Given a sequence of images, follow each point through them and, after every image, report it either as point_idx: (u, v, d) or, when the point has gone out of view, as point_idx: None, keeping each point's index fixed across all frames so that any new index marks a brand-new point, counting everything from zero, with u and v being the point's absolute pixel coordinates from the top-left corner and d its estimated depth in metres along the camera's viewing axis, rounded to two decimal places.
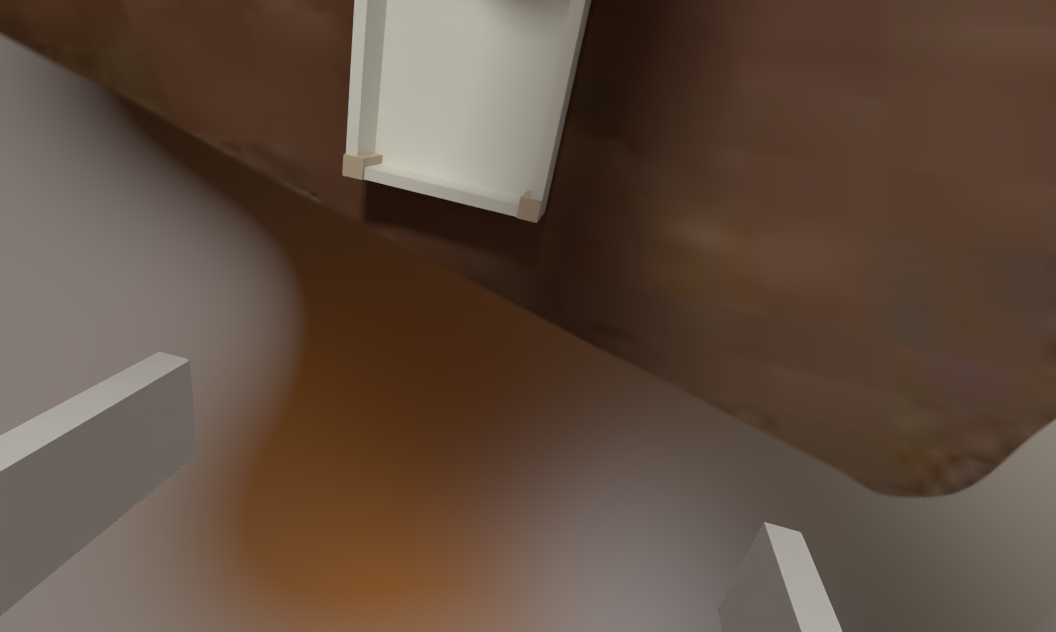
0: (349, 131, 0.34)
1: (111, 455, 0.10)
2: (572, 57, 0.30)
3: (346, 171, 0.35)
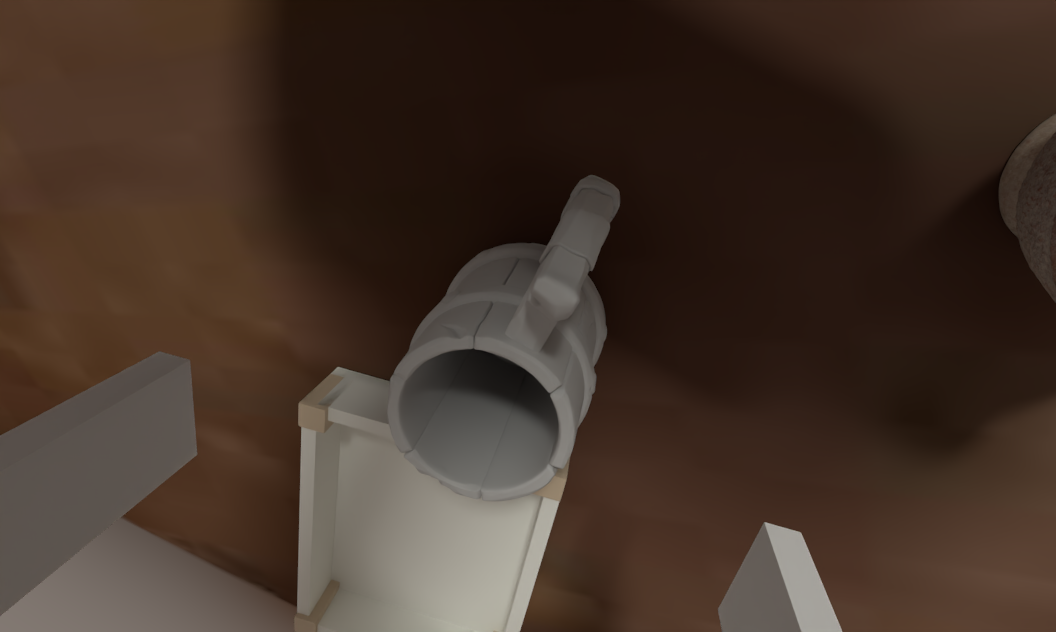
0: (299, 597, 0.32)
1: (111, 455, 0.10)
2: (533, 582, 0.28)
3: (297, 629, 0.32)
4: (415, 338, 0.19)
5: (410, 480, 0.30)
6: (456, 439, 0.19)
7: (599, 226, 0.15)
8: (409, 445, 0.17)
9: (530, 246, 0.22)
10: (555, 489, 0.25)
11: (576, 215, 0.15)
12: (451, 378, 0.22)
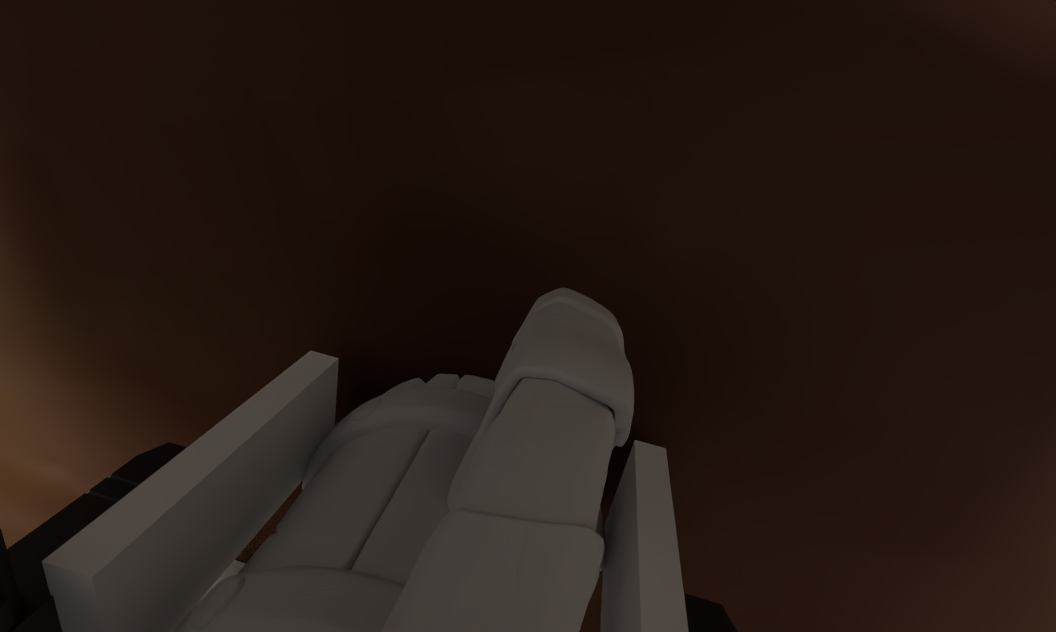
0: None
1: (288, 442, 0.11)
2: None
3: None
4: None
5: None
6: None
7: (563, 582, 0.04)
8: None
9: (453, 401, 0.11)
10: None
11: (474, 558, 0.04)
12: None
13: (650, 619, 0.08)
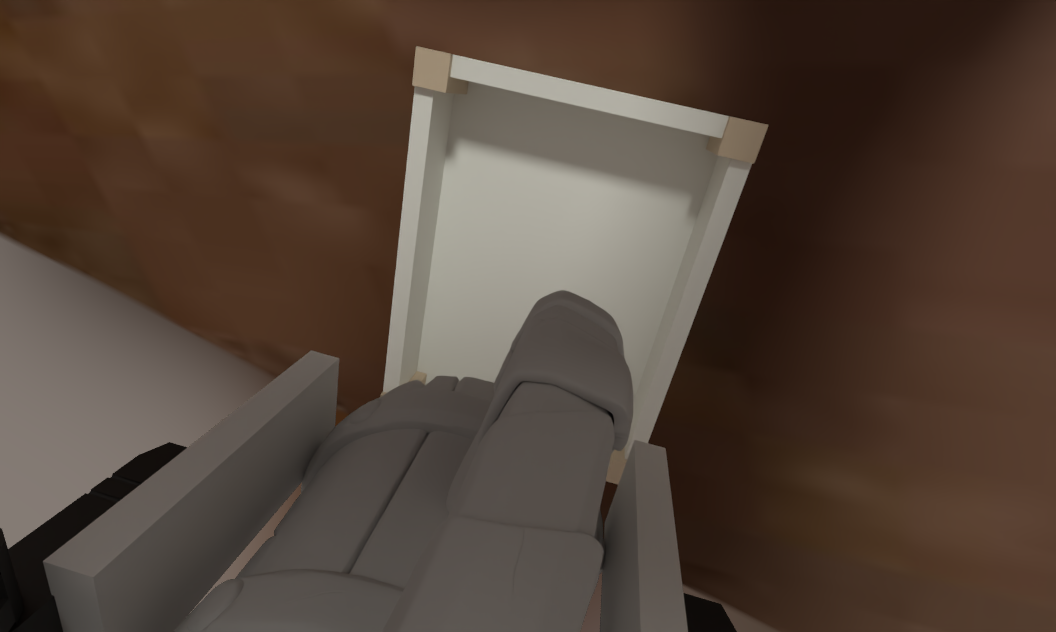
0: (388, 368, 0.26)
1: (288, 442, 0.11)
2: (696, 309, 0.22)
3: None
4: None
5: (530, 209, 0.24)
6: None
7: (562, 590, 0.04)
8: None
9: (452, 403, 0.11)
10: (750, 143, 0.19)
11: (473, 565, 0.04)
12: None
13: (650, 619, 0.08)
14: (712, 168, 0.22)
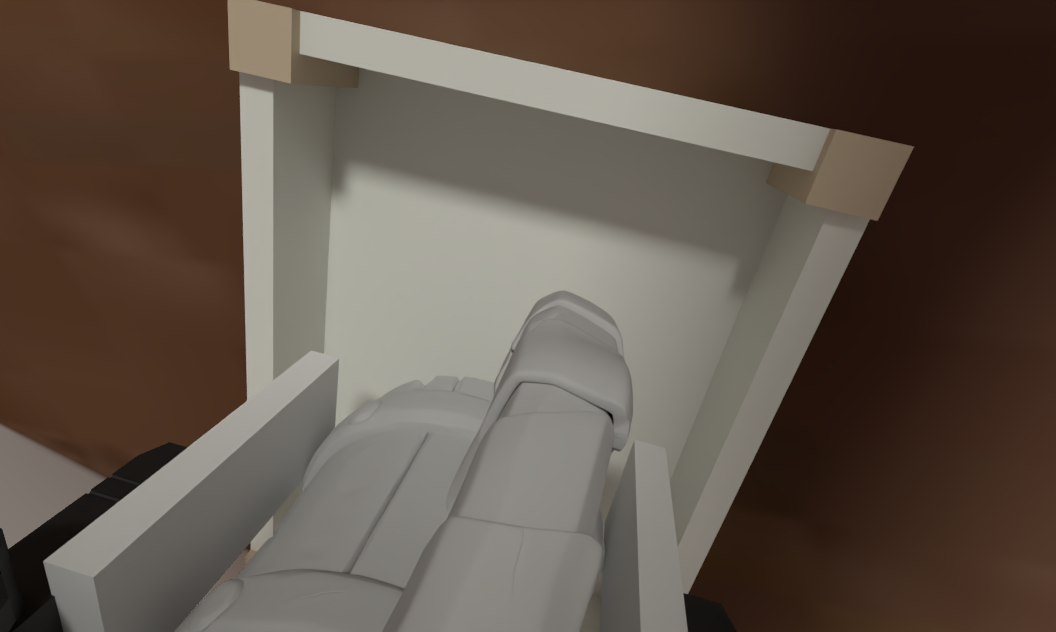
0: None
1: (289, 442, 0.11)
2: (749, 460, 0.13)
3: None
4: None
5: (471, 275, 0.15)
6: None
7: (562, 589, 0.04)
8: None
9: (452, 403, 0.11)
10: (873, 183, 0.10)
11: (472, 565, 0.04)
12: None
13: (650, 619, 0.08)
14: (776, 215, 0.13)
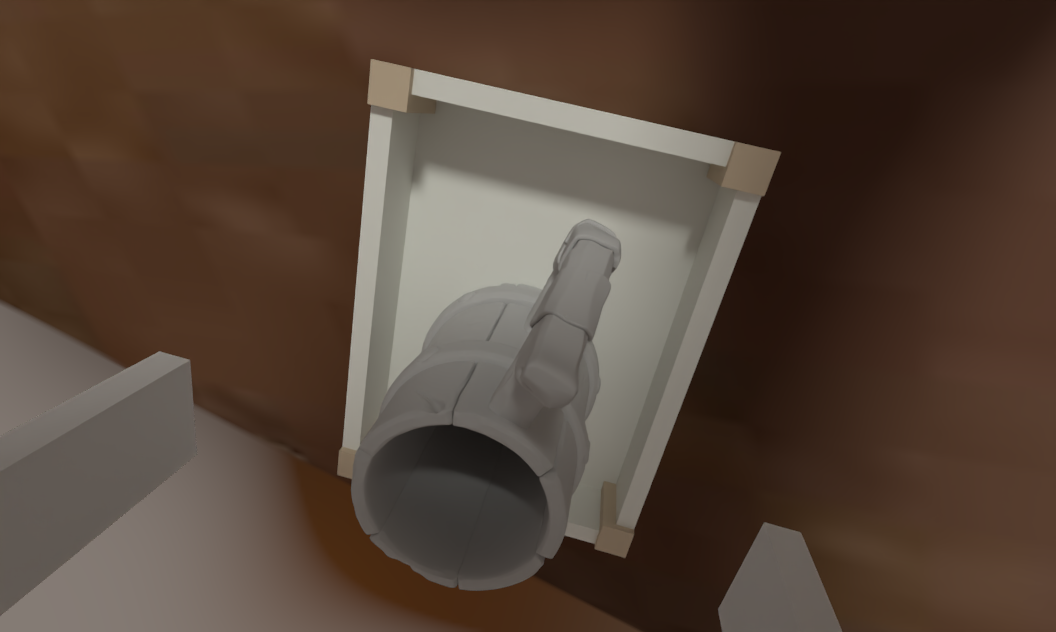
0: (348, 421, 0.23)
1: (111, 455, 0.10)
2: (697, 359, 0.19)
3: (343, 471, 0.24)
4: (387, 398, 0.17)
5: (508, 242, 0.22)
6: (431, 511, 0.17)
7: (599, 287, 0.13)
8: (376, 527, 0.15)
9: (518, 290, 0.20)
10: (760, 173, 0.16)
11: (573, 275, 0.13)
12: (428, 436, 0.20)
13: None
14: (714, 198, 0.20)
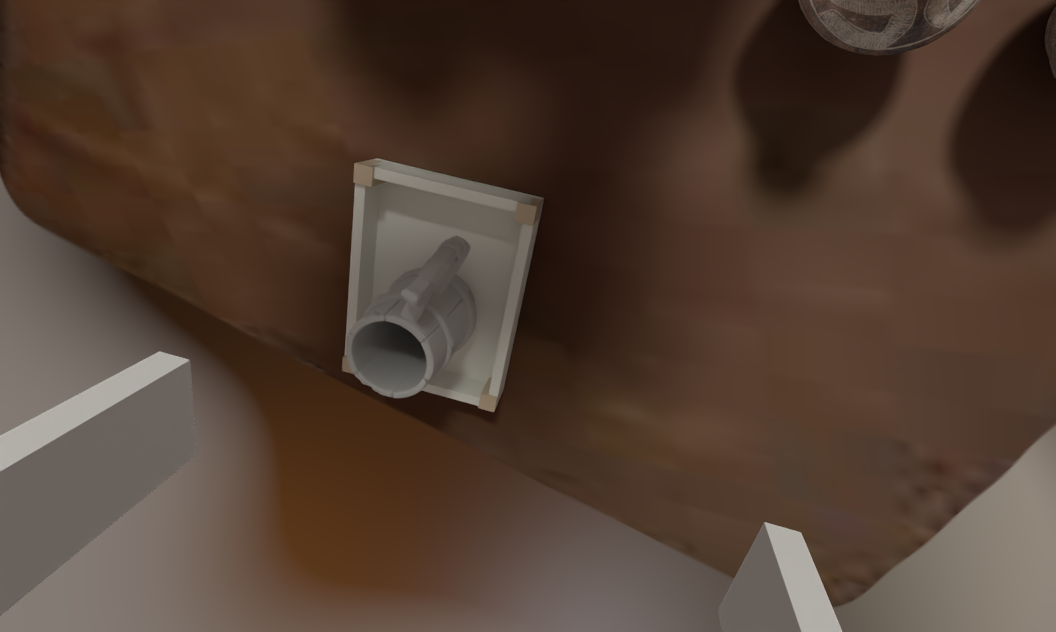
0: None
1: (111, 455, 0.10)
2: (516, 303, 0.39)
3: (345, 368, 0.44)
4: (362, 317, 0.37)
5: (428, 245, 0.42)
6: (384, 370, 0.38)
7: (442, 266, 0.33)
8: (357, 369, 0.35)
9: None
10: (529, 216, 0.36)
11: (431, 261, 0.33)
12: (385, 341, 0.40)
13: None
14: None
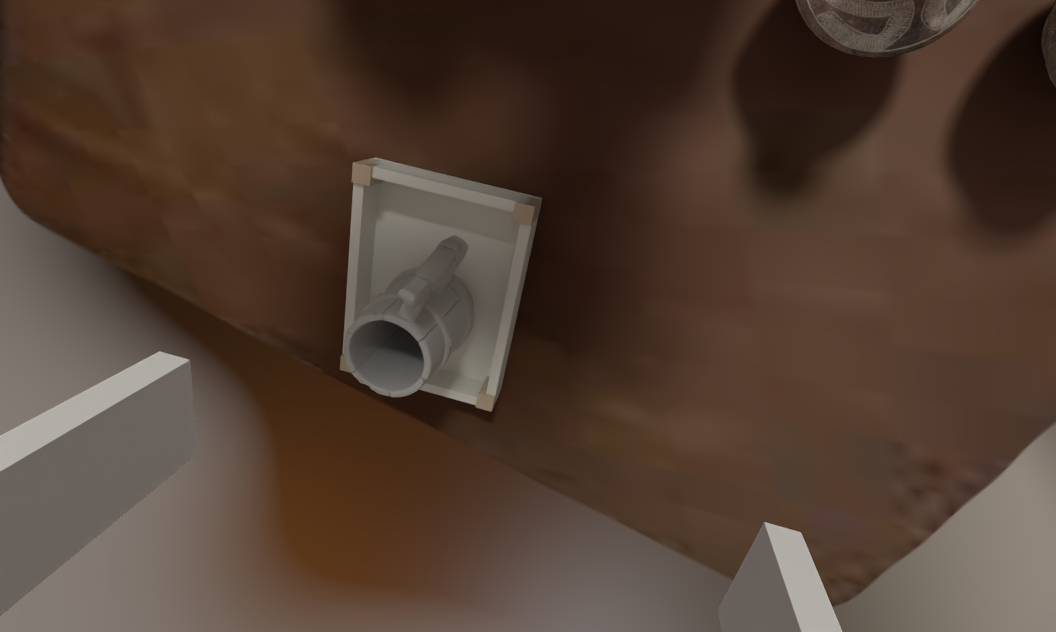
0: None
1: (111, 455, 0.10)
2: (514, 303, 0.39)
3: (342, 367, 0.44)
4: (360, 316, 0.37)
5: (426, 245, 0.42)
6: (381, 369, 0.38)
7: (440, 265, 0.33)
8: (354, 368, 0.35)
9: None
10: (527, 216, 0.36)
11: (429, 260, 0.33)
12: (383, 340, 0.40)
13: None
14: None
